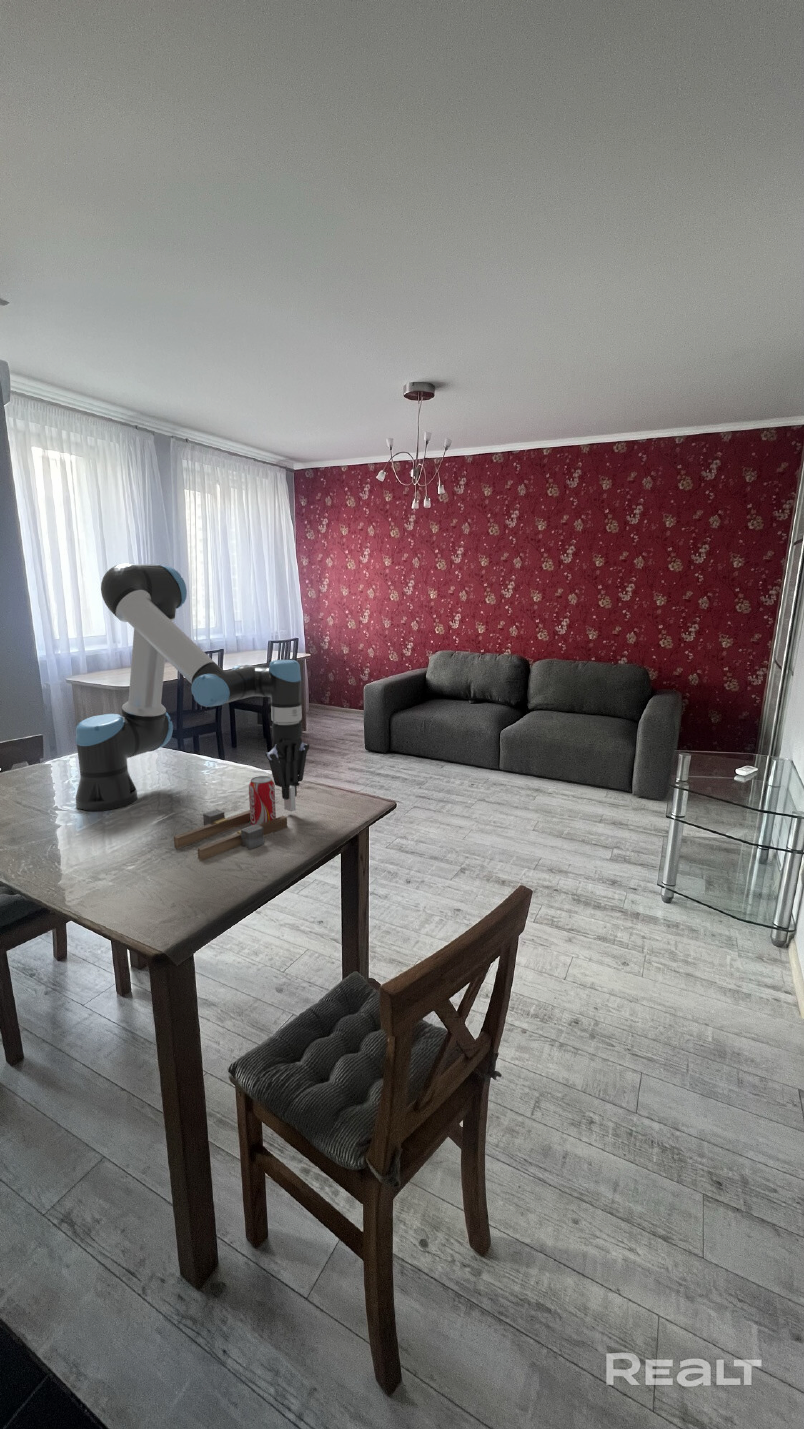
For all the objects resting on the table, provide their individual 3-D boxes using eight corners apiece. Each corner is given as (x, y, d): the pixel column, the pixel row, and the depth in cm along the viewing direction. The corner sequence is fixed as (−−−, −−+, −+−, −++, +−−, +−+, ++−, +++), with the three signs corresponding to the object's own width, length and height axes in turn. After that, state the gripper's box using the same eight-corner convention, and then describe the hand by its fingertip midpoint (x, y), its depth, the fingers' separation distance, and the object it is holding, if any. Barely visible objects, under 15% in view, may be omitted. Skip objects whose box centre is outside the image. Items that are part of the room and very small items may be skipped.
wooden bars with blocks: (166, 842, 137) (164, 826, 136) (250, 812, 156) (250, 798, 155) (211, 865, 126) (210, 847, 125) (296, 830, 145) (296, 814, 144)
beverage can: (269, 830, 144) (267, 784, 142) (246, 828, 146) (243, 782, 143) (280, 821, 150) (278, 776, 148) (257, 819, 151) (255, 774, 149)
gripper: (276, 728, 142) (279, 820, 147) (316, 719, 152) (318, 805, 157) (256, 723, 147) (260, 813, 152) (296, 715, 156) (299, 799, 162)
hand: (290, 809), depth 154 cm, fingers closed
